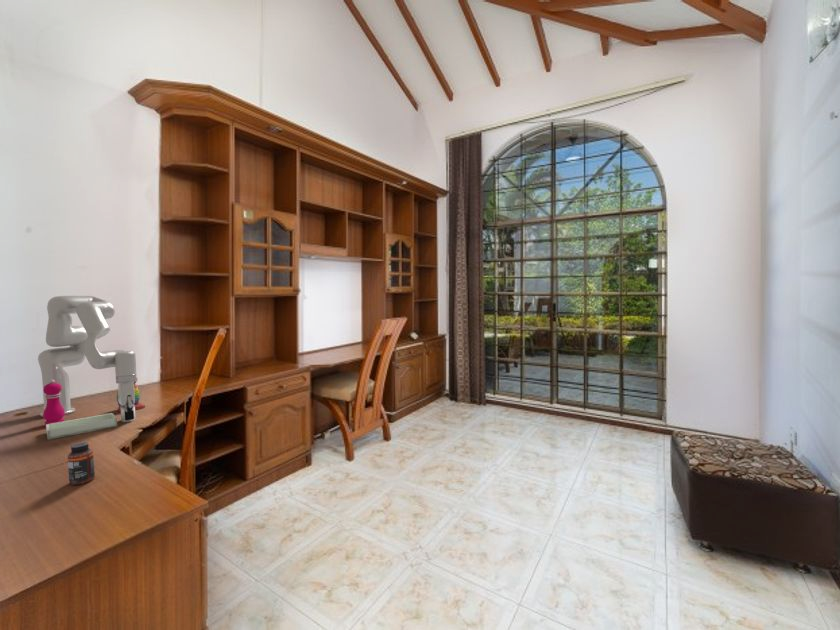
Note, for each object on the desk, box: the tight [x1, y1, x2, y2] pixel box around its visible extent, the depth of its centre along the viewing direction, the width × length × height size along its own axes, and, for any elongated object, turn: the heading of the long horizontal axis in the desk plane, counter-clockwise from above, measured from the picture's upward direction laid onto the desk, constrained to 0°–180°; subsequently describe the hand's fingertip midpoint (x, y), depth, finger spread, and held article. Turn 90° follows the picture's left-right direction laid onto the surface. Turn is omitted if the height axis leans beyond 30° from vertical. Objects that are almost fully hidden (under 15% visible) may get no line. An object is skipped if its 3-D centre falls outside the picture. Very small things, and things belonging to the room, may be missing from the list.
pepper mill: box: [42, 380, 66, 427], centre depth 176 cm, size 7×7×20 cm
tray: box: [45, 412, 118, 441], centre depth 168 cm, size 12×22×4 cm, turn 135°
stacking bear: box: [116, 380, 146, 412], centre depth 199 cm, size 11×10×18 cm
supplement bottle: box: [67, 441, 96, 486], centre depth 120 cm, size 6×6×11 cm
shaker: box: [120, 404, 136, 423], centre depth 180 cm, size 5×5×7 cm
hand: (128, 417), depth 180 cm, fingers closed on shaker, 5 cm apart
